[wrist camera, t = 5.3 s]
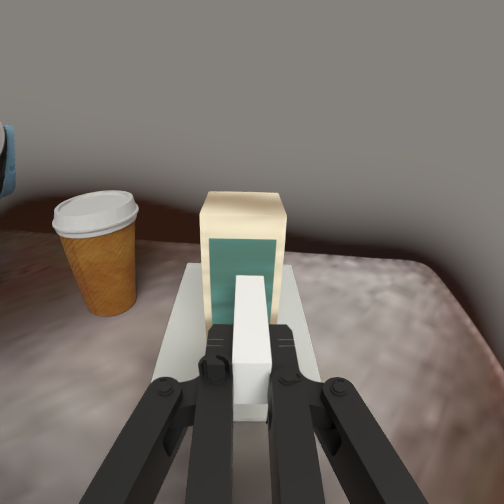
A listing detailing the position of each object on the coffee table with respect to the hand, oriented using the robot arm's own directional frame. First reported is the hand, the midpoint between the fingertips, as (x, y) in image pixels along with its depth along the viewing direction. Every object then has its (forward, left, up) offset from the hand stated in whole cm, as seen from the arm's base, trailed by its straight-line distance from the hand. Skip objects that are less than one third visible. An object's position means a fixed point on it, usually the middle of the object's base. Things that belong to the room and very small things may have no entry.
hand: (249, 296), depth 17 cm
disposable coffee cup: (-19, -7, -11) cm, 23 cm away
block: (-4, +2, -10) cm, 11 cm away
